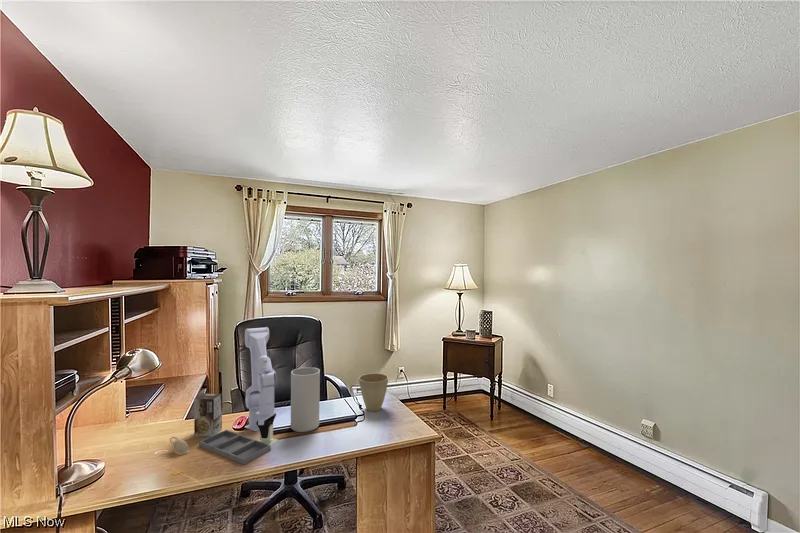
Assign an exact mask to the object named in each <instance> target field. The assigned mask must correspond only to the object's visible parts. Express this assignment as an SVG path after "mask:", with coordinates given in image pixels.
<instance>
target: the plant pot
mask: <svg viewBox="0 0 800 533" xmlns="http://www.w3.org/2000/svg"><path fill="white" fill-rule="evenodd" d="M358 382H359V387H360V393H361V396H362V397H361V398H362V401H363V403H364V406H365V408H366V410H367V411H368V412H369V411H370V412H379V411H380V410H381V409H382V407H383V403H384V401H385V397H386V394H387V390H388V382H389V376H388V375H387V374H385V373H378V372H375V373H374V372H373V373H366V374H362V375H360V376H359V377H358Z"/></svg>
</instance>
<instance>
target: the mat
mask: <svg viewBox="0 0 800 533" xmlns="http://www.w3.org/2000/svg"><path fill="white" fill-rule="evenodd" d="M279 440H280V439H278V438H275V437H272V438H271V440H270V441H260V439H259V440H257V441H260V442H263V443H265V444H268V445H271V446H272V445H273V444H275V443H277V442H278V441H279Z"/></svg>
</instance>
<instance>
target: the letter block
mask: <svg viewBox="0 0 800 533" xmlns="http://www.w3.org/2000/svg"><path fill="white" fill-rule="evenodd" d="M271 438H274V423H273V424H270V427H269V432H268V437H267V438H262V437H261V433H260V432H259V440H260V441H270V440H271Z"/></svg>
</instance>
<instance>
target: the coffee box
mask: <svg viewBox="0 0 800 533" xmlns="http://www.w3.org/2000/svg"><path fill="white" fill-rule="evenodd" d="M193 404H194V405H193V407H194V408H193V411H194V414H193V415H194V416H193V419H194V420H193V422H194V425H193V426H194V427H193V428H194V429H193V431H194V433H193V434H194V435H193V436H194V437H205V436H206V437H210V436H213V435H215V434H217V433H220V432H222V431H223V425H222V424H223V394H222V393H201V394H199V395H198V396H196V397H194V398H193Z"/></svg>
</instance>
